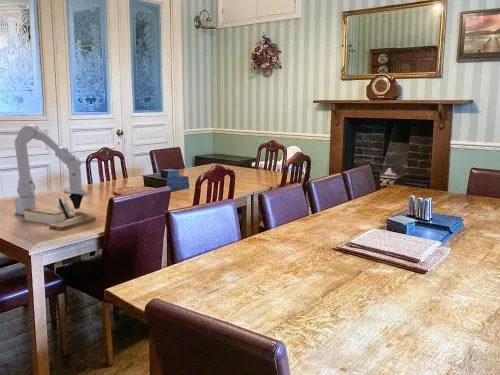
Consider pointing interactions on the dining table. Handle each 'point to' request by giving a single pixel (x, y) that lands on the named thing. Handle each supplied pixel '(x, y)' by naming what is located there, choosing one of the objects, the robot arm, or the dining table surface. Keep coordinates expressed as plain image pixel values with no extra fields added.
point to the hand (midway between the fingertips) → (77, 208)
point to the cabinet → (43, 215)
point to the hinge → (65, 207)
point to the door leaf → (72, 222)
